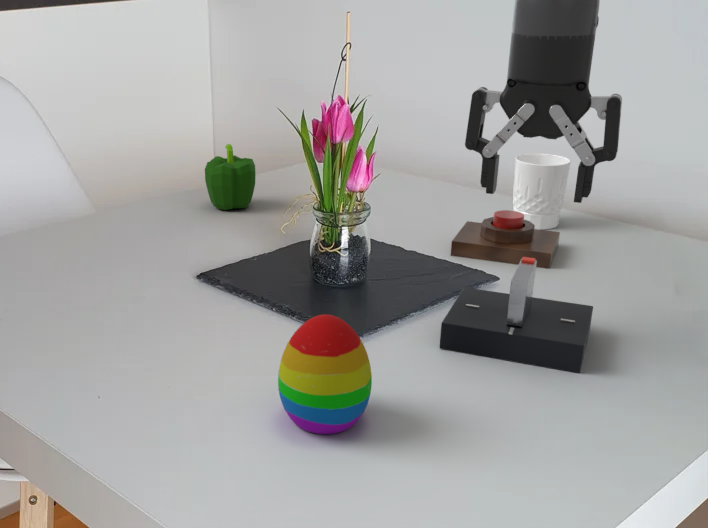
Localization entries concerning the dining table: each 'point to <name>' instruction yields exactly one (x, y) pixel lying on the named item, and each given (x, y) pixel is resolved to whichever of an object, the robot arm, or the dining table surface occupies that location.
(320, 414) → the decorative egg
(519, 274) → the grey rectangular box
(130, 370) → the dining table surface
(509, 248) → the button block
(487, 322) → the card holder base
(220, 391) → the dining table surface
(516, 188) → the white cup
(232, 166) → the bell pepper
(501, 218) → the button
